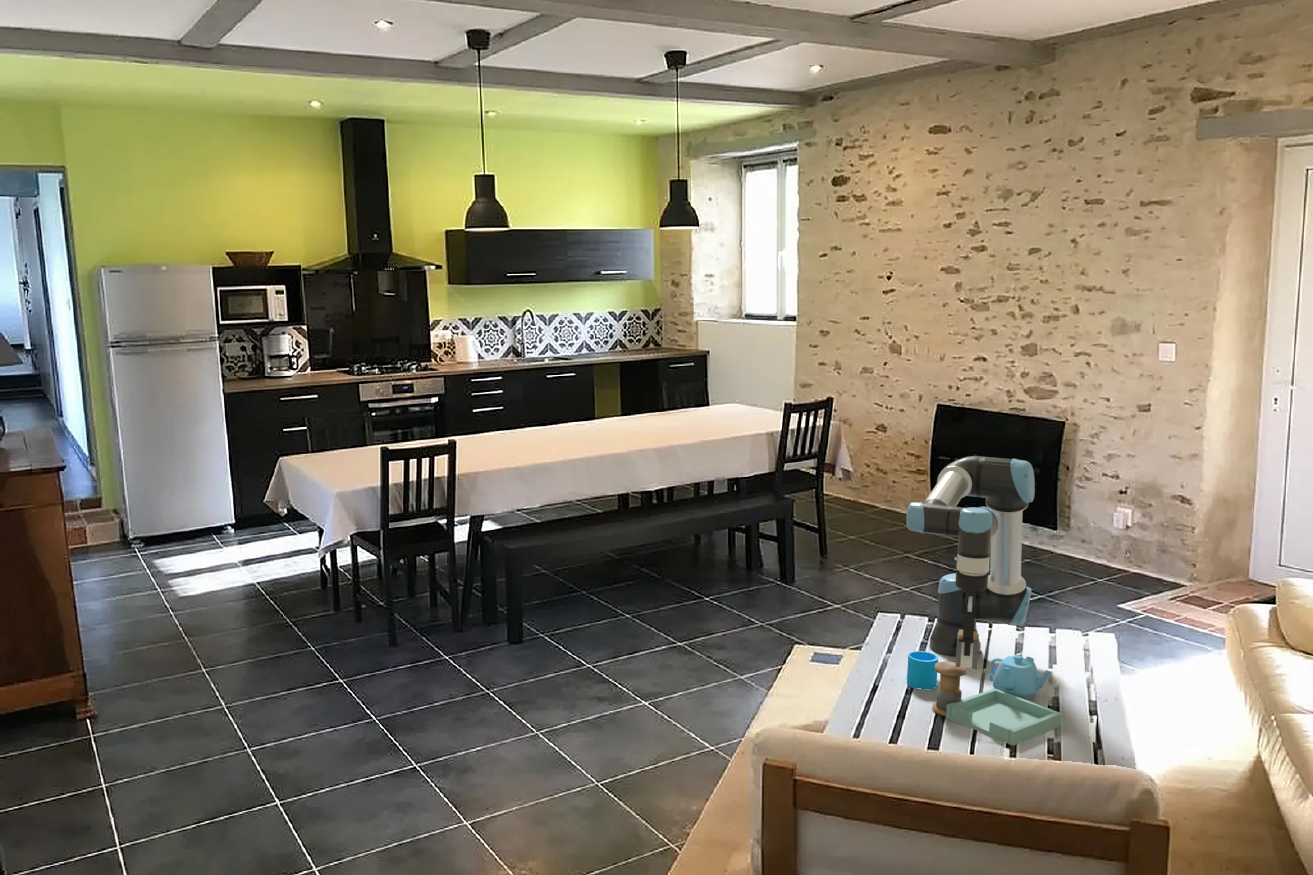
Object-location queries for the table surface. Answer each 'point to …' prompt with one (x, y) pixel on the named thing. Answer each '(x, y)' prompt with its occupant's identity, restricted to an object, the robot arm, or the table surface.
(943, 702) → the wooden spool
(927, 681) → the mug
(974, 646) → the gray and orange block
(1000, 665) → the teapot
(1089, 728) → the table surface
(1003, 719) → the pale green tray
